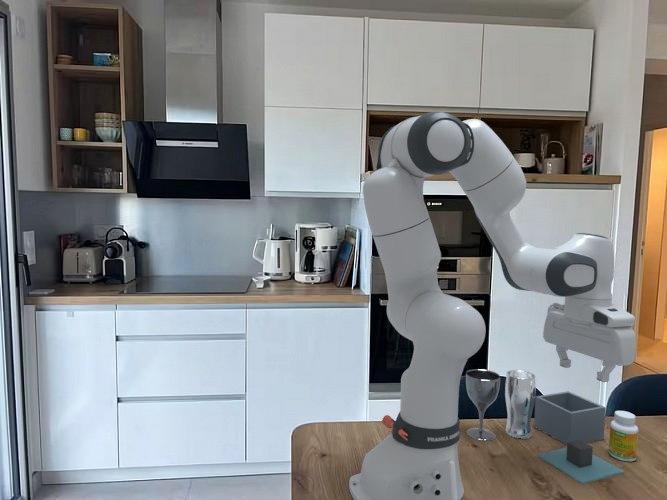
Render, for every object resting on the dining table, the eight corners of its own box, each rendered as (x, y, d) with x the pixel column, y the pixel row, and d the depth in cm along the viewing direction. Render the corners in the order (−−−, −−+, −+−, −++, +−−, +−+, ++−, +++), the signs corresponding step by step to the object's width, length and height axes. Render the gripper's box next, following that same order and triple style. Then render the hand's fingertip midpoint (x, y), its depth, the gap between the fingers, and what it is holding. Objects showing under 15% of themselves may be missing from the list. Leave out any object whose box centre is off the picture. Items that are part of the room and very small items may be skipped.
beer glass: (536, 441, 113) (539, 380, 112) (505, 438, 114) (508, 377, 113) (530, 428, 120) (532, 370, 119) (501, 426, 121) (503, 368, 120)
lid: (582, 487, 95) (583, 463, 95) (536, 458, 106) (537, 437, 106) (624, 475, 99) (625, 452, 99) (575, 449, 111) (576, 428, 110)
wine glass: (460, 426, 121) (462, 368, 119) (492, 427, 120) (494, 369, 119) (468, 441, 113) (470, 379, 112) (502, 442, 112) (504, 380, 111)
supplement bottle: (609, 458, 105) (612, 416, 105) (607, 448, 110) (610, 407, 109) (638, 464, 103) (640, 421, 102) (634, 453, 108) (637, 412, 107)
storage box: (569, 446, 110) (571, 413, 110) (534, 427, 121) (535, 396, 120) (603, 439, 114) (605, 407, 114) (566, 420, 125) (568, 391, 124)
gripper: (538, 301, 109) (534, 360, 110) (620, 320, 90) (615, 391, 91) (559, 300, 111) (555, 358, 112) (643, 319, 92) (638, 388, 93)
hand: (583, 373), depth 101 cm, fingers open, 8 cm apart
